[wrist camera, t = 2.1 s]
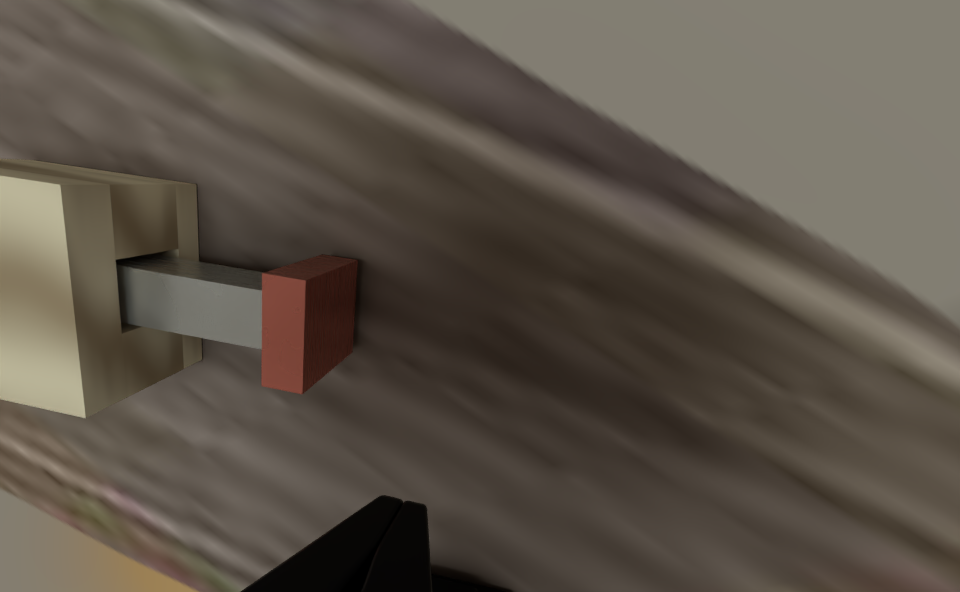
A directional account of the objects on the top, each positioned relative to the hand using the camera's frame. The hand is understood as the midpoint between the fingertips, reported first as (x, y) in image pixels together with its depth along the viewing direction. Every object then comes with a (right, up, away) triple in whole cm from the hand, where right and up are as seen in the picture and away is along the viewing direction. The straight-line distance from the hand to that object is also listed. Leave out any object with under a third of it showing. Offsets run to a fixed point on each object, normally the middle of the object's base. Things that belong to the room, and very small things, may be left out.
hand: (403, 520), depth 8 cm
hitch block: (-15, +6, +13) cm, 20 cm away
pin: (-9, +5, +12) cm, 16 cm away
